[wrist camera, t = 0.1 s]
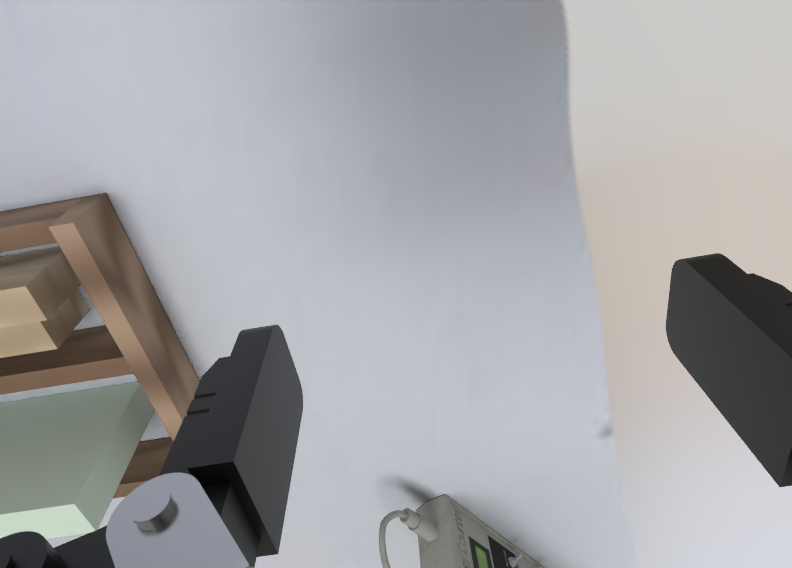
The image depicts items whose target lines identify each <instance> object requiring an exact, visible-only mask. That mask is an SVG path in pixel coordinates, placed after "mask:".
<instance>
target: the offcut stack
mask: <svg viewBox="0 0 792 568" xmlns="http://www.w3.org/2000/svg"><path fill="white" fill-rule="evenodd" d="M80 284H81V282H80V280H79V279H78V277H77V275H76V274H75V272H74V270H73V268H72V267H71V265H70V263H69V262H68V260H67V258H66V256H65V255H64V253H63V251H62V250H61V248H60V246H58V247H53V248H47V249H41V250H35V251H29V252H24V253H18V254H12V255H6V256H1V257H0V358H4V357H10V356H16V355H23V354H29V353H35V352H41V351H48V350H54V349H58V348H59V347H60V345H61V344H62V343H63V342H64V341H65V339H66V338H67V337H68V336H69V334H70V333H71V332H72V331H73V330H74V328H75V327H76V326H77V325H78V324H79V322H80V321H81V320H82V319H83V317H84V316H85V315H86V314H87V313H88V311H89V310H90V308H89V307H88V305H87V303H86V302H85V300H84V298H83V297H82V295H81V293H80V291H79V290H78V288H77V287H78V286H79V285H80Z"/></svg>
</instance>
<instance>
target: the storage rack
mask: <svg viewBox="0 0 792 568" xmlns="http://www.w3.org/2000/svg"><path fill="white" fill-rule="evenodd" d="M56 242H57V243H58V244H59V246H60V248H61V250H62V251H63V253H64V255H65V256H66V258H67V260H68V262H69V263H70V265H71V267H72V268H73V270H74V272H75V274H76V275H77V277H78V279H79V280H80V282H81V284H82V286H83V287H84V289H85V291H86V292H87V294H88V296H89V298H90V299H91V301H92V303H93V304H94V306H95V308H96V310H97V311H98V313H99V315H100V316H101V318H102V320H103V322H104V323H105V325H106V326H101V327H95V328H89V329H83V330H76V331H72V332H71V333H70V334H69V336H68V337H67V338H66V339H65V341H64V342H63V343H62V344H61V345H60V347H59V348H58V349H54V350H48V351H41V352H35V353H29V354H23V355H16V356H10V357H4V358H0V395H1V394H7V393H13V392H20V391H26V390H32V389H39V388H45V387H51V386H58V385H64V384H71V383H77V382H83V381H90V380H96V379H102V378H109V377H115V376H121V375H128V374H134V375H135V376H136V378H137V380H138V382H139V383H140V385H141V387H142V388H143V390H144V392H145V394H146V395H147V397H148V399H149V400H150V402H151V404H152V406H153V407H154V409H155V411H156V412H157V414H158V416H159V418H160V419H161V421H162V423H163V425H164V426H165V428H166V430H167V431H168V433H169V435H170V437H169V438H163V439H156V440H149V441H143V442H139V443H138V446H137V448H136V450H135V452H134V454H133V456H132V458H131V460H130V462H129V465H128V467H127V469H126V471H125V473H124V475H123V477H122V479H121V481H120V483H119V486H118V488H117V490H116V492H115V494H114V496H113V498H118V497H125V496H127V495H128V494H130V493H131V492H132V491H133V490H134V489H136V488H137V487H139V486H140V485H142V484H143V483H145V482H147V481H149V480H151V479H153V478H155V477H158V476H159V474H160V472H161V469H162V467H163V465H164V463H165V460H166V458H167V456H168V453H169V451H170V449H171V447H172V444H173V442H174V440H175V437H176V435H177V433H178V431H179V428H180V426H181V424H182V421H183V419H184V417H185V416H187V410H188V408H189V405H190V403H191V401H192V400H194V394H195V392H196V389H197V387H198V385H199V383H200V381H199V379H198V377H197V375H196V373H195V371H194V369H193V367H192V365H191V363H190V361H189V359H188V357H187V355H186V353H185V351H184V349H183V347H182V345H181V343H180V341H179V339H178V337H177V335H176V333H175V331H174V329H173V327H172V325H171V323H170V321H169V319H168V317H167V315H166V313H165V311H164V309H163V307H162V305H161V303H160V301H159V299H158V297H157V295H156V293H155V291H154V289H153V287H152V285H151V283H150V281H149V279H148V277H147V274H146V272H145V270H144V268H143V266H142V264H141V262H140V260H139V258H138V256H137V254H136V252H135V250H134V248H133V246H132V244H131V242H130V240H129V238H128V236H127V234H126V232H125V230H124V228H123V226H122V224H121V222H120V220H119V218H118V216H117V214H116V212H115V210H114V208H113V206H112V204H111V202H110V200H109V198H108V196H107V194H106V193H104V194H98V195H93V196H87V197H81V198H76V199H70V200H64V201H59V202H53V203H48V204H42V205H36V206H31V207H25V208H20V209H14V210H8V211H3V212H0V252H4V251H10V250H16V249H22V248H27V247H33V246H39V245H45V244H51V243H56Z"/></svg>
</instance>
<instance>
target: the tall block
mask: <svg viewBox="0 0 792 568" xmlns="http://www.w3.org/2000/svg"><path fill="white" fill-rule="evenodd" d="M154 410H155V409H154V407H153V406H152V404H151V402H150V400H149V399H148V397H147V395H146V394H145V392H144V390H143V388H142V387H141V385H140V383H139V382H131V383H125V384H119V385H112V386H106V387H99V388H93V389H87V390H80V391H74V392H68V393H61V394H55V395H48V396H42V397H36V398H29V399H23V400H16V401H10V402H4V403H0V539H1V538H3V537H5V536H8V535H10V534H14V533H18V532H24V531H34V532H37V533H39V534H41V535H42V536H43V537H44V538H45V539H48V538H55V537H62V536H69V535H76V534H83V533H90V532H93V531H96V530H98V528H99V525H100V523H101V521H102V519H103V517H104V515H105V513H106V511H107V509H108V507H109V504H110V502H111V500H112V498H113V496H114V494H115V492H116V490H117V488H118V486H119V483H120V481H121V479H122V477H123V475H124V473H125V471H126V469H127V467H128V465H129V462H130V460H131V458H132V456H133V454H134V452H135V450H136V448H137V446H138V443H139V441H140V439H141V437H142V435H143V433H144V431H145V429H146V427H147V425H148V422H149V420H150V418H151V416H152V414H153V412H154Z"/></svg>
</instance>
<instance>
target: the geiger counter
mask: <svg viewBox="0 0 792 568" xmlns="http://www.w3.org/2000/svg"><path fill="white" fill-rule="evenodd" d="M396 517H400V520H401V521H402V522H403V523H405V524H406V525H408V527H409V529H410V530H412V531H413V532H415V533H416V534H418V540H419V552H420V564H421V568H544V567H543V566H541V565H540V564H539V563H537V562H536V561H535V560H533V559H532V558H531V557H529V556H528V555H526V554H525V553H524V552H522V551H521V550H520V549H518V548H517V547H516V546H514V545H513V544H512V543H510V542H509V541H508V540H506V539H505V538H504V537H502V536H501V535H499V534H498V533H497V532H495V531H494V530H493V529H491V528H490V527H489V526H487V525H486V524H485V523H483V522H482V521H481V520H479V519H478V518H476V517H475V516H474V515H472V514H471V513H470V512H468V511H467V510H466V509H464V508H463V507H462V506H460V505H459V504H458V503H456V502H455V501H454V500H452V499H451V498H449V497H448V496H447V495H445V494H444V495H442V496H439V497H437V498H434V499H432V500H429V501H427V502H426V503H425V504H424V505H422V506H421V507H420V508H419V509H418V510H416V513H415V512H413V511H412V510H410V509H409V508H406V509H404V510H403V511H398V510H396V511H393V512H391V513H389V514H388V515H386V516H385V517H384V519H383V520H382V522H381V524H380V529H379V548H380V555H381V561H382V565H383V568H390V565H389V562H388V558H387V553H386V545H385V530H386V525H387V524H388V522H389V521H391V520H392V519H393V518H396Z"/></svg>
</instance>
